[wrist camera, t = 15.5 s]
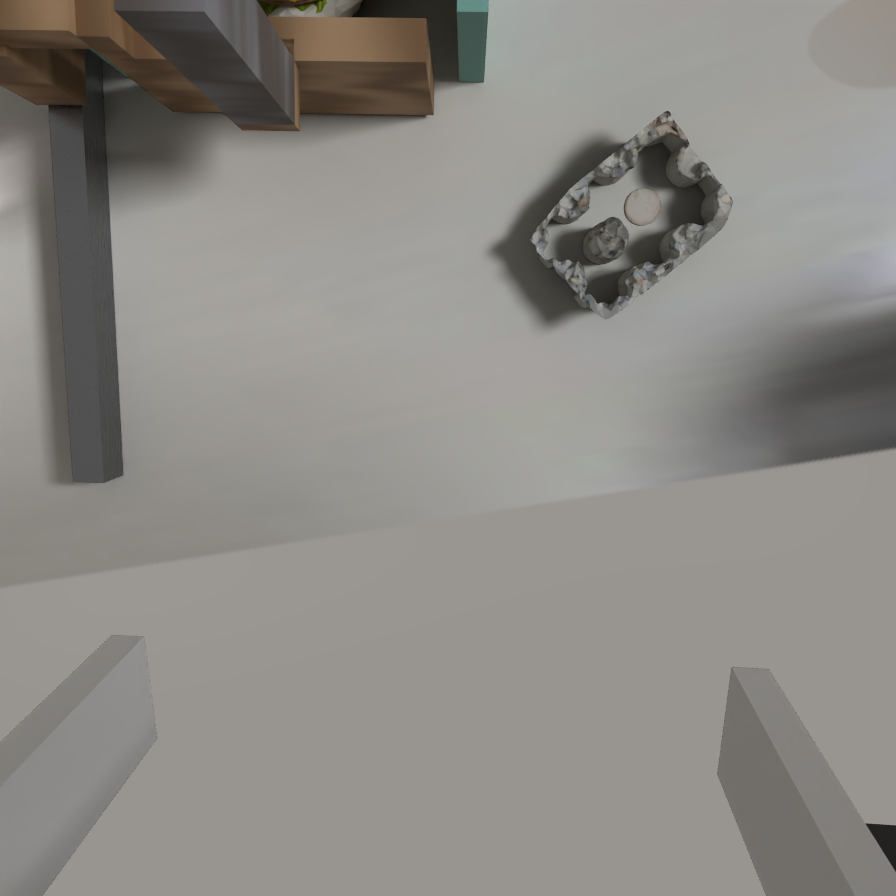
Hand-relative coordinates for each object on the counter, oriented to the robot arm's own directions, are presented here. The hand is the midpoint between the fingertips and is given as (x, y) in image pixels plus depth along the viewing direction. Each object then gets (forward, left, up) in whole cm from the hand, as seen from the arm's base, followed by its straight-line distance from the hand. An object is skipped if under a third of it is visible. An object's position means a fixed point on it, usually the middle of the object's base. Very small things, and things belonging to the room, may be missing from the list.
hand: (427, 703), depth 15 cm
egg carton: (-10, -15, -31) cm, 36 cm away
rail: (+23, -13, -30) cm, 40 cm away
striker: (+13, -21, -30) cm, 39 cm away
